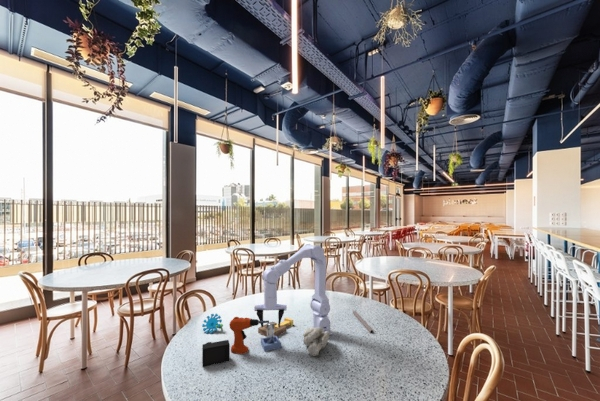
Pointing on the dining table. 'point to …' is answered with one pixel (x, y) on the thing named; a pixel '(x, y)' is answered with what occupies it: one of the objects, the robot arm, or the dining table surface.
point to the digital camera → (215, 353)
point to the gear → (212, 323)
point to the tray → (270, 346)
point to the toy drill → (241, 333)
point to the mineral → (315, 340)
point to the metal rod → (363, 322)
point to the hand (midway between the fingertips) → (270, 326)
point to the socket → (277, 331)
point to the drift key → (285, 322)
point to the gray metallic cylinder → (270, 333)
